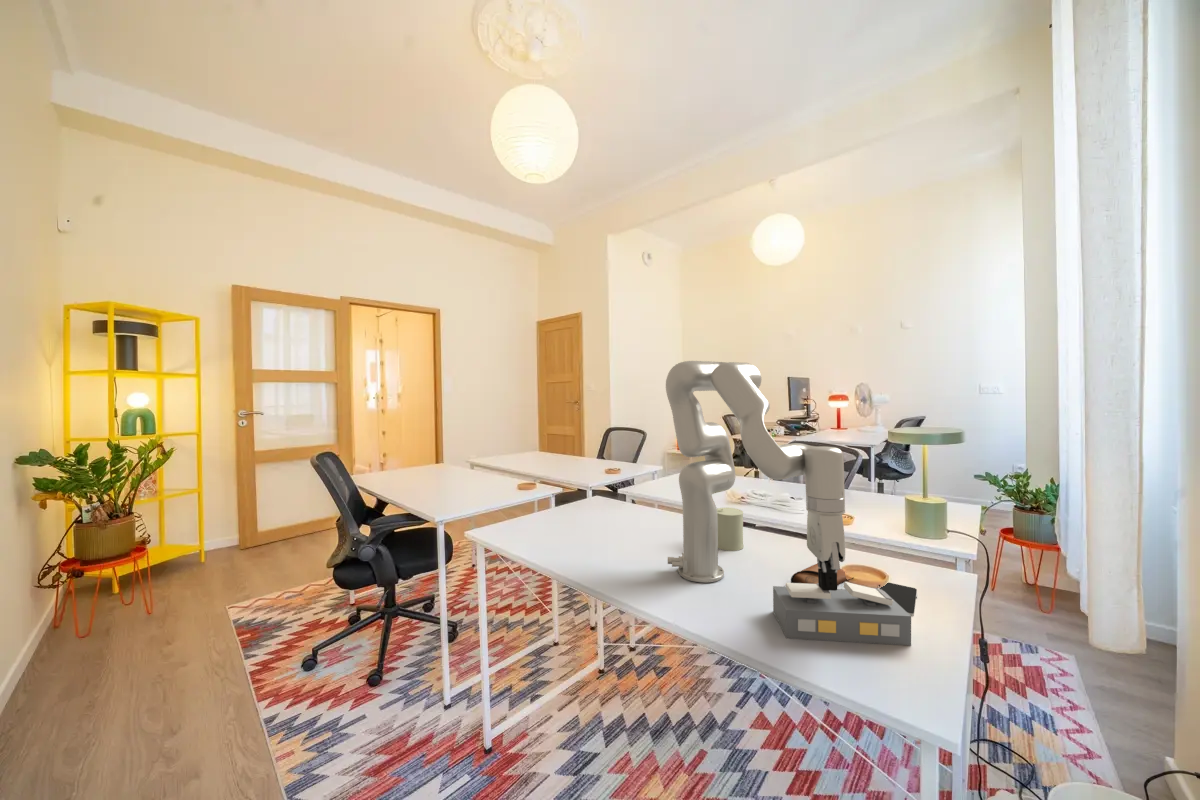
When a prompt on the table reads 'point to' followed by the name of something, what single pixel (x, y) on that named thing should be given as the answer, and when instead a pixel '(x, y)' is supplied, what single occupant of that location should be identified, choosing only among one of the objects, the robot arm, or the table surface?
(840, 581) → the sunglasses case
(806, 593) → the rocker
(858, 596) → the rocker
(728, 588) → the table surface
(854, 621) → the console
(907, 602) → the smartphone
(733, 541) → the can
